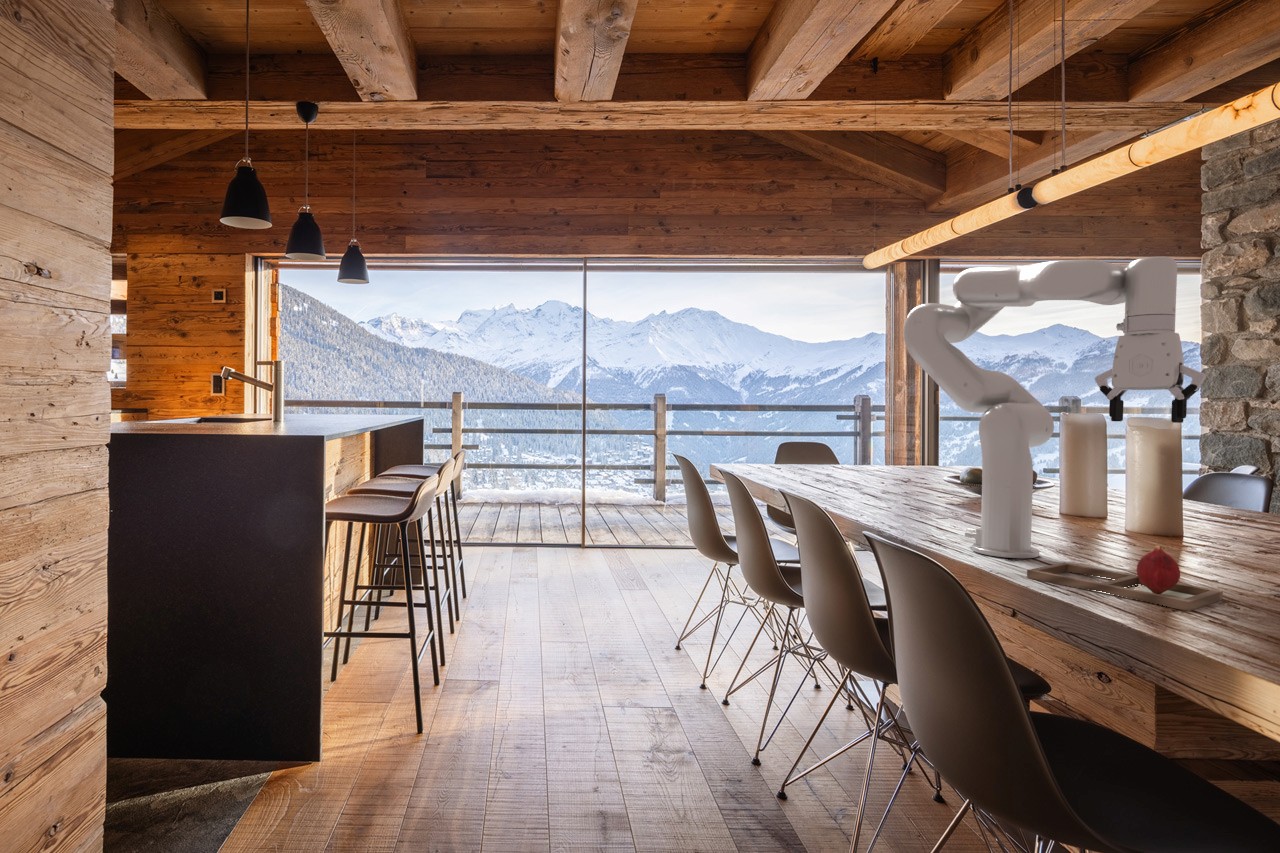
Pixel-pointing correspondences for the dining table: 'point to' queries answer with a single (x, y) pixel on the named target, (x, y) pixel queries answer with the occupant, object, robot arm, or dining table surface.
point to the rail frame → (1174, 597)
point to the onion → (1158, 571)
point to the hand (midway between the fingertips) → (1146, 421)
